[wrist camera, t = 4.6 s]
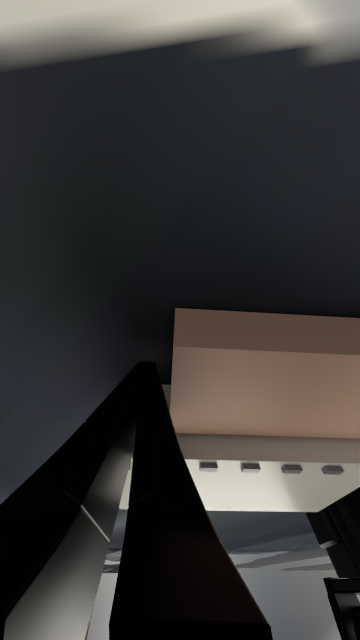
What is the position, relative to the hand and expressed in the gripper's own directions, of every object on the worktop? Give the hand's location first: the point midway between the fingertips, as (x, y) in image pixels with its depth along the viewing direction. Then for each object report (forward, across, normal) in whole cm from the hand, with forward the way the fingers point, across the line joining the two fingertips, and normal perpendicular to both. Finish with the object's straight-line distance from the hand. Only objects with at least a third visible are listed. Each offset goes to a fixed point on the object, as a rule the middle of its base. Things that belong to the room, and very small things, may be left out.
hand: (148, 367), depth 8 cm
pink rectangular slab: (+1, -7, 0) cm, 7 cm away
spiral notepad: (+1, -5, +7) cm, 9 cm away
